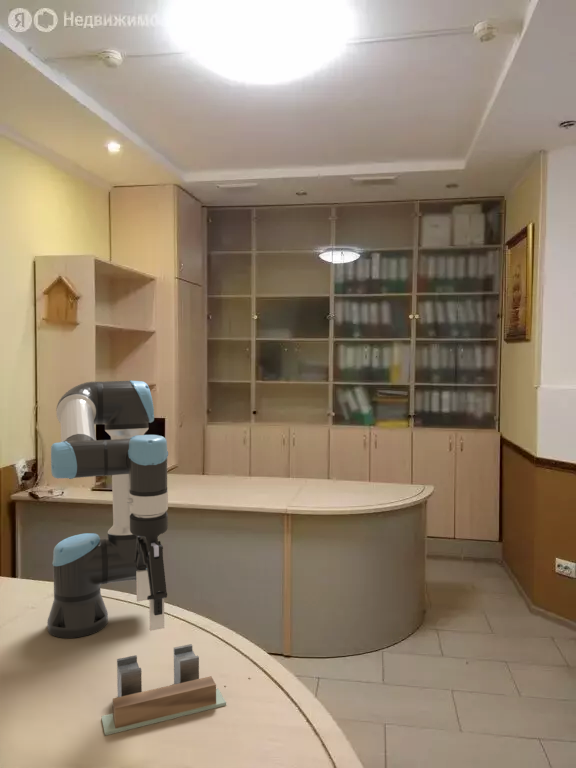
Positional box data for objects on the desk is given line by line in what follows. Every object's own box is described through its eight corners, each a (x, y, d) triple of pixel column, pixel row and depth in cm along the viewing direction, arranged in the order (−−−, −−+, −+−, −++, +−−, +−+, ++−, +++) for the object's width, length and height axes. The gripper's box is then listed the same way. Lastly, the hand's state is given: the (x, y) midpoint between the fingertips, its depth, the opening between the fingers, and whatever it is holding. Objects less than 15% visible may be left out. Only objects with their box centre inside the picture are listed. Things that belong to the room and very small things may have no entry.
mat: (101, 719, 118) (101, 716, 118) (218, 691, 128) (218, 688, 128) (104, 735, 113) (104, 732, 113) (226, 705, 123) (226, 702, 123)
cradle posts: (117, 695, 126) (116, 659, 126) (191, 678, 132) (191, 643, 132) (121, 712, 120) (121, 673, 120) (199, 693, 127) (198, 657, 126)
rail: (113, 718, 117) (112, 698, 117) (211, 694, 126) (211, 676, 125) (115, 728, 114) (115, 708, 114) (216, 703, 122) (216, 684, 122)
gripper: (119, 498, 130) (121, 592, 132) (142, 534, 108) (143, 646, 110) (154, 494, 133) (155, 586, 135) (182, 528, 111) (183, 638, 113)
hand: (149, 613), depth 123 cm, fingers open, 13 cm apart
